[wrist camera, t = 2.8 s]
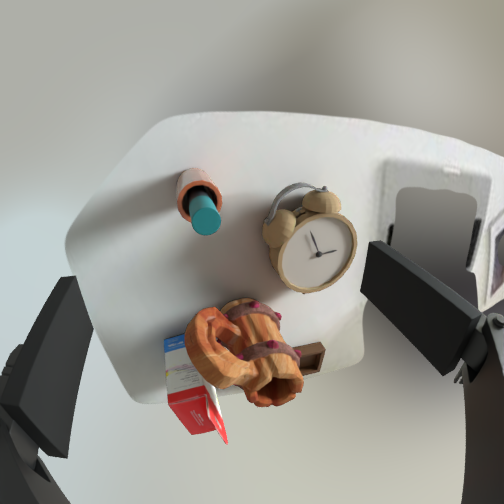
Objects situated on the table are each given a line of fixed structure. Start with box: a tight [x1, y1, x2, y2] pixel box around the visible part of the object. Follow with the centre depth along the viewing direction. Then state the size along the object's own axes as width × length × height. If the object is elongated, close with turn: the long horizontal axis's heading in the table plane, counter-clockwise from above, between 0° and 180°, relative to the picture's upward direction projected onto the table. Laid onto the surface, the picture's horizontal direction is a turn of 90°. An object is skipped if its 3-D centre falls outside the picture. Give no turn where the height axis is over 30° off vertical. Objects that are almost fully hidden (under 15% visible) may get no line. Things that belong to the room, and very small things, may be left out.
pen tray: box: [293, 342, 326, 376], centre depth 45 cm, size 14×6×2 cm, turn 88°
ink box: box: [164, 334, 228, 445], centre depth 34 cm, size 8×5×15 cm, turn 11°
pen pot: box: [177, 168, 222, 223], centre depth 27 cm, size 4×4×8 cm
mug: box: [184, 298, 304, 407], centre depth 32 cm, size 15×8×15 cm, turn 50°
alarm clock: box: [262, 183, 357, 294], centre depth 35 cm, size 11×5×15 cm
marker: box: [187, 185, 221, 235], centre depth 25 cm, size 2×2×13 cm
